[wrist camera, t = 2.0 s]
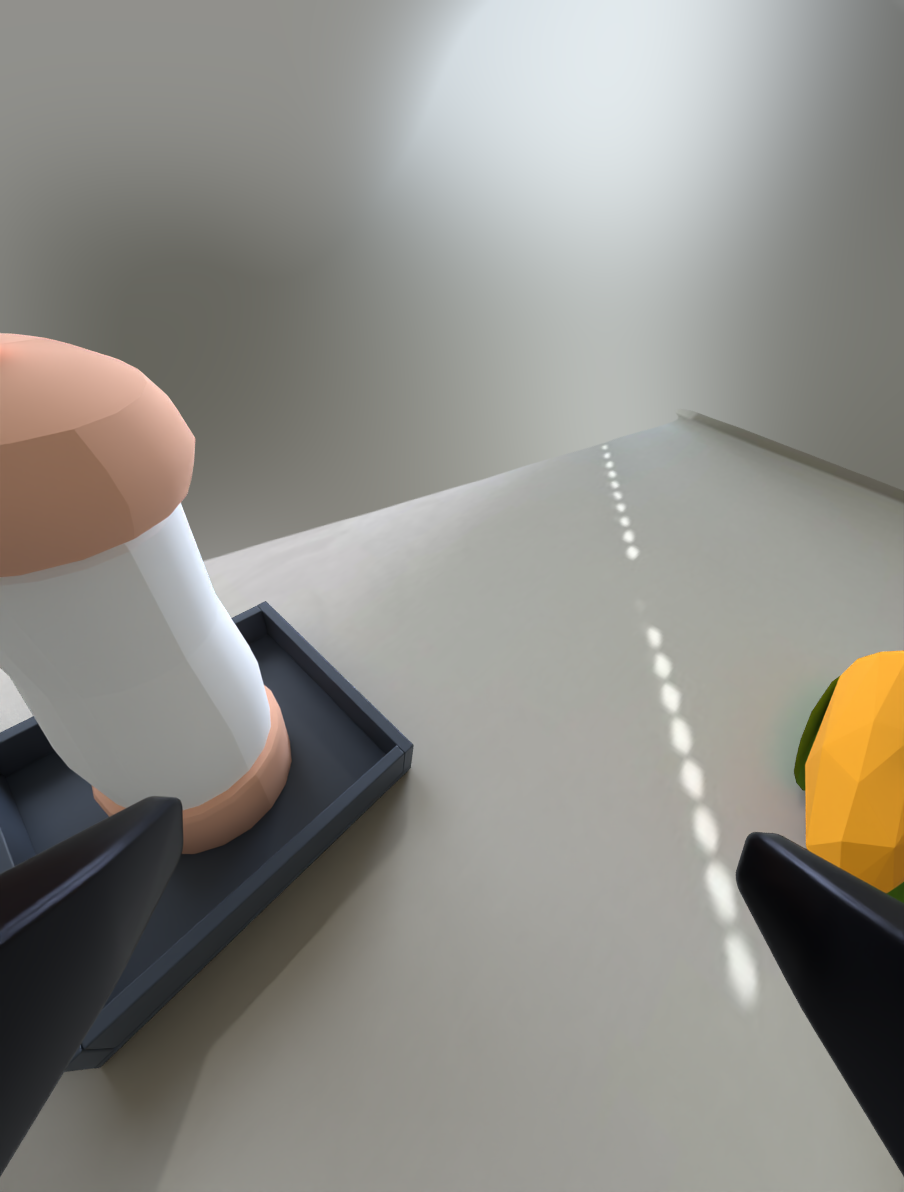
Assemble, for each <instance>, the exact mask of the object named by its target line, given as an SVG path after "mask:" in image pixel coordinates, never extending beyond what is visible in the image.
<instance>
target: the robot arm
mask: <svg viewBox="0 0 904 1192" xmlns="http://www.w3.org/2000/svg"><path fill="white" fill-rule="evenodd" d="M182 850H183V807H182V803H181V800H180V799H178V798H176V797H165V796H150V797H147V798H145V799H143V800H141V801H139V802H137V803H135V804H133V805H131V806H129V807H127V808H125V809H123V810H122V811H120V812H118V813H116V814H114V815H112V816H110V817H108V818H106V819H104V820H102V821H100V822H98V823H97V824H95V825H93V826H91V827H89V828H87V829H85V830H83V831H81V832H79V833H77V834H75V835H73V836H72V837H70V838H68V839H66V840H64V841H62V842H60V843H58V844H56V845H54V846H52V847H50V848H49V849H47V850H45V851H43V852H41V853H39V854H37V855H35V856H33V857H31V858H29V859H27V860H25V861H24V862H22V863H20V864H18V865H16V866H14V867H12V868H10V869H8V870H6V871H4V872H2V873H0V1176H1V1175H2V1173H3V1171H4V1170H5V1168H6V1167H7V1165H8V1163H9V1162H10V1160H11V1158H12V1157H13V1155H14V1153H15V1152H16V1150H17V1148H18V1147H19V1145H20V1143H21V1142H22V1140H23V1139H24V1137H25V1135H26V1134H27V1132H28V1130H29V1129H30V1127H31V1125H32V1124H33V1122H34V1120H35V1119H36V1117H37V1116H38V1114H39V1112H40V1111H41V1109H42V1107H43V1106H44V1104H45V1102H46V1101H47V1099H48V1097H49V1096H50V1094H51V1093H52V1091H53V1089H54V1088H55V1086H56V1084H57V1083H58V1081H59V1079H60V1078H61V1076H62V1074H63V1073H64V1071H65V1069H66V1068H67V1066H68V1065H69V1063H70V1061H71V1060H72V1058H73V1056H74V1055H75V1053H76V1051H77V1050H78V1048H79V1046H80V1045H81V1043H82V1042H83V1040H84V1038H85V1037H86V1035H87V1033H88V1032H89V1030H90V1028H91V1027H92V1025H93V1023H94V1022H95V1020H96V1019H97V1017H98V1015H99V1014H100V1012H101V1010H102V1008H103V1007H104V1005H105V1003H106V1002H107V1000H108V998H109V997H110V995H111V993H112V991H113V990H114V988H115V986H116V984H117V982H118V980H119V979H120V977H121V975H122V973H123V971H124V969H125V967H126V965H127V963H128V961H129V959H130V957H131V955H132V954H133V952H134V950H135V948H136V946H137V944H138V942H139V940H140V938H141V936H142V934H143V932H144V930H145V928H146V926H147V924H148V922H149V920H150V918H151V916H152V914H153V912H154V910H155V908H156V906H157V904H158V902H159V900H160V898H161V896H162V894H163V892H164V890H165V888H166V886H167V884H168V882H169V880H170V878H171V876H172V874H173V872H174V870H175V868H176V866H177V864H178V862H179V860H180V857H181V854H182ZM736 882H737V886H738V889H739V891H740V893H741V895H742V897H743V899H744V901H745V903H746V904H747V906H748V908H749V910H750V912H751V914H752V916H753V918H754V920H755V922H756V924H757V925H758V927H759V929H760V931H761V933H762V935H763V937H764V939H765V941H766V943H767V944H768V946H769V948H770V950H771V952H772V954H773V956H774V958H775V960H776V962H777V964H778V965H779V967H780V969H781V971H782V973H783V975H784V977H785V979H786V981H787V983H788V985H789V986H790V988H791V990H792V992H793V994H794V996H795V997H796V999H797V1001H798V1003H799V1005H800V1007H801V1008H802V1010H803V1012H804V1013H805V1015H806V1017H807V1018H808V1020H809V1022H810V1023H811V1025H812V1027H813V1029H814V1030H815V1032H816V1033H817V1035H818V1037H819V1038H820V1040H821V1042H822V1043H823V1045H824V1047H825V1048H826V1050H827V1051H828V1053H829V1055H830V1056H831V1058H832V1060H833V1061H834V1063H835V1065H836V1066H837V1068H838V1070H839V1071H840V1073H841V1074H842V1076H843V1078H844V1079H845V1081H846V1083H847V1084H848V1086H849V1088H850V1089H851V1091H852V1092H853V1094H854V1096H855V1097H856V1099H857V1101H858V1102H859V1104H860V1106H861V1107H862V1109H863V1110H864V1112H865V1114H866V1115H867V1117H868V1119H869V1120H870V1122H871V1124H872V1125H873V1127H874V1129H875V1130H876V1132H877V1133H878V1135H879V1137H880V1138H881V1140H882V1142H883V1143H884V1145H885V1147H886V1148H887V1150H888V1151H889V1153H890V1155H891V1156H892V1158H893V1160H894V1161H895V1163H896V1165H897V1166H898V1168H899V1169H900V1171H901V1173H902V1174H903V1176H904V903H903V902H901V901H899V900H897V899H895V898H894V897H892V896H890V895H888V894H886V893H885V892H883V891H881V890H879V889H877V888H875V887H874V886H872V885H870V884H868V883H866V882H865V881H863V880H861V879H859V878H857V877H856V876H854V875H852V874H850V873H848V872H847V871H845V870H843V869H841V868H839V867H837V866H836V865H834V864H832V863H830V862H828V861H827V860H825V859H823V858H821V857H819V856H818V855H816V854H814V853H812V852H810V851H809V850H807V849H805V848H803V847H801V846H799V845H798V844H796V843H794V842H792V841H790V840H789V839H787V838H785V837H783V836H781V835H779V834H775V833H763V832H753V833H751V834H750V835H748V837H747V838H746V841H745V844H744V847H743V850H742V854H741V857H740V860H739V863H738V867H737V870H736Z"/></svg>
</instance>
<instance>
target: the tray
mask: <svg viewBox="0 0 904 1192" xmlns="http://www.w3.org/2000/svg"><path fill="white" fill-rule="evenodd" d="M231 619H232V620H233V622H234V623H235V625H236V627H237V628H238V630H239V631H240V633H241V634H242V636H243V637H244V639H245V641H246V642H247V644H248V645H249V647H250V649H251V651H252V653H253V655H254V656H255V658H256V660H257V662H258V665H259V669H260V673H261V677H262V680H263V684H264V685H265V686H266V687H267V688H268V689H270V690H271V692H272V693H273V695H274V697H275V699H276V701H277V703H278V705H279V707H280V709H281V713H282V716H283V719H284V723H285V726H286V729H287V733H288V736H289V740H290V748H291V760H292V762H291V766H290V770H289V773H288V777H287V781H286V784H285V786H284V788H283V790H282V791H281V793H280V795H279V796H278V798H277V800H276V801H275V803H274V805H273V806H272V808H271V809H270V810H269V811H268V812H267V813H266V814H265V815H264V816H263V817H262V818H261V819H260V820H259V821H258V822H257V823H256V824H255V825H254V826H253V827H252V828H251V829H249V830H248V831H246V832H244V833H243V834H241V835H240V836H238V837H236V838H235V839H233V840H231V841H230V842H228V843H227V844H225V845H223V846H219V847H216V848H213V849H209V850H206V851H203V852H200V853H196V854H181V857H180V860H179V862H178V864H177V866H176V868H175V870H174V872H173V874H172V876H171V878H170V880H169V882H168V884H167V886H166V888H165V890H164V892H163V894H162V896H161V898H160V900H159V902H158V904H157V906H156V908H155V910H154V912H153V914H152V916H151V918H150V920H149V922H148V924H147V926H146V928H145V930H144V932H143V934H142V936H141V938H140V940H139V942H138V944H137V946H136V948H135V950H134V952H133V954H132V955H131V957H130V959H129V961H128V963H127V965H126V967H125V969H124V971H123V973H122V975H121V977H120V979H119V980H118V982H117V984H116V986H115V988H114V990H113V991H112V993H111V995H110V997H109V998H108V1000H107V1002H106V1003H105V1005H104V1007H103V1008H102V1010H101V1012H100V1014H99V1015H98V1017H97V1019H96V1020H95V1022H94V1023H93V1025H92V1027H91V1028H90V1030H89V1032H88V1033H87V1035H86V1037H85V1038H84V1040H83V1042H82V1043H81V1045H80V1046H79V1048H78V1050H77V1051H76V1053H75V1055H74V1056H73V1058H72V1060H71V1061H70V1063H69V1065H68V1066H67V1068H66V1069H65V1071H64V1072H67V1071H75V1070H83V1069H91V1068H100V1067H101V1066H102V1065H103V1064H104V1063H105V1062H106V1061H107V1060H108V1059H109V1058H110V1057H111V1056H112V1055H114V1054H115V1053H116V1052H117V1051H118V1050H119V1049H120V1048H121V1047H122V1046H123V1045H124V1044H125V1043H126V1042H127V1041H128V1040H129V1039H130V1038H131V1037H132V1036H133V1035H134V1034H135V1033H136V1032H137V1031H138V1030H139V1029H140V1028H142V1027H143V1026H144V1025H145V1024H146V1023H147V1022H148V1021H149V1020H150V1019H151V1018H152V1017H153V1016H154V1015H155V1014H156V1013H157V1012H158V1011H159V1010H160V1009H161V1008H162V1007H163V1006H164V1005H165V1004H166V1003H167V1002H168V1001H170V1000H171V999H172V998H173V997H174V996H175V995H176V994H177V993H178V992H179V991H180V990H181V989H182V988H183V987H184V986H185V985H186V984H187V983H188V982H189V981H190V980H191V979H192V978H193V977H194V976H195V975H196V974H197V973H199V972H200V971H201V970H202V969H203V968H204V967H205V966H206V965H207V964H208V963H209V962H210V961H211V960H212V959H213V958H214V957H215V956H216V955H217V954H218V953H219V952H220V951H221V950H222V949H223V948H224V947H225V946H227V945H228V944H229V943H230V942H231V941H232V940H233V939H234V938H235V937H236V936H237V935H238V934H239V933H240V932H241V931H242V930H243V929H244V928H245V927H246V926H247V925H248V924H249V923H250V922H251V921H252V920H253V919H255V918H256V917H257V916H258V915H259V914H260V913H261V912H262V911H263V910H264V909H265V908H266V907H267V906H268V905H269V904H270V903H271V902H272V901H273V900H274V899H275V898H276V897H277V896H278V895H279V894H280V893H281V892H283V891H284V890H285V889H286V888H287V887H288V886H289V885H290V884H291V883H292V882H293V881H294V880H295V879H296V878H297V877H298V876H299V875H300V874H301V873H302V872H303V871H304V870H305V869H306V868H307V867H308V866H309V865H310V864H312V863H313V862H314V861H315V860H316V859H317V858H318V857H319V856H320V855H321V854H322V853H323V852H324V851H325V850H326V849H327V848H328V847H329V846H330V845H331V844H332V843H333V842H334V841H335V840H336V839H337V838H338V837H340V836H341V835H342V834H343V833H344V832H345V831H346V830H347V829H348V828H349V827H350V826H351V825H352V824H353V823H354V822H355V821H356V820H357V819H358V818H359V817H360V816H361V815H362V814H363V813H364V812H365V811H366V810H368V809H369V808H370V807H371V806H372V805H373V804H374V803H375V802H376V801H377V800H378V799H379V798H380V797H381V796H382V795H383V794H384V793H385V792H386V791H387V790H388V789H389V788H390V787H391V786H392V785H393V784H394V783H396V782H397V781H398V780H399V779H400V778H401V777H402V776H403V775H404V774H405V773H406V772H407V771H408V770H409V769H410V768H411V761H412V753H413V744H412V743H411V742H410V741H409V740H408V739H407V738H406V737H405V736H404V735H403V734H402V733H401V732H400V731H399V730H398V729H397V728H396V727H395V726H394V725H393V724H392V723H391V722H389V721H388V720H387V719H386V718H385V717H384V716H383V715H382V714H381V713H380V712H379V711H378V710H377V709H376V708H375V707H374V706H373V705H372V704H371V703H370V702H369V701H368V700H367V699H366V698H365V697H364V696H363V695H362V694H361V693H360V692H359V691H358V690H357V689H356V688H355V687H354V686H352V685H351V684H350V683H349V682H348V681H347V680H346V679H345V678H344V677H343V676H342V675H341V674H340V673H339V672H338V671H337V670H336V669H335V668H334V667H333V666H332V665H331V664H330V663H329V662H328V661H327V660H326V659H325V658H324V657H323V656H322V655H321V654H320V653H319V652H318V651H317V650H315V649H314V648H313V647H312V646H311V645H310V644H309V643H308V642H307V641H306V640H305V639H304V638H303V637H302V636H301V635H300V634H299V633H298V632H297V631H296V630H295V629H294V628H293V627H292V626H291V625H290V624H289V623H288V622H287V621H286V620H285V619H284V618H283V617H282V616H281V615H280V614H279V613H277V612H276V611H275V610H274V609H273V608H272V607H271V606H270V605H269V604H268V603H267V602H266V601H265V602H263V603H261V604H259V605H257V606H255V607H253V608H251V609H249V610H247V611H245V612H243V613H241V614H239V615H237V616H235V617H233V618H231ZM108 817H109V816H108V815H107V813H106V812H105V811H104V810H103V809H102V808H101V806H100V805H99V804H98V803H97V802H96V800H95V799H94V796H93V790H92V785H91V784H90V783H88V782H87V781H86V780H84V779H83V778H82V777H81V776H79V775H78V774H77V773H75V772H74V771H73V770H71V769H70V768H69V767H68V766H67V765H66V763H65V762H64V761H63V760H62V759H61V757H60V756H59V755H58V754H57V753H56V751H55V750H54V749H53V748H52V746H51V744H50V743H49V741H48V739H47V738H46V736H45V734H44V733H43V731H42V729H41V728H40V726H39V724H38V723H37V721H36V719H35V718H34V716H33V717H31V718H29V719H27V720H25V721H23V722H21V723H19V724H17V725H15V726H13V727H11V728H9V729H7V730H5V731H3V732H1V733H0V873H2V872H4V871H6V870H8V869H10V868H12V867H14V866H16V865H18V864H20V863H22V862H24V861H25V860H27V859H29V858H31V857H33V856H35V855H37V854H39V853H41V852H43V851H45V850H47V849H49V848H50V847H52V846H54V845H56V844H58V843H60V842H62V841H64V840H66V839H68V838H70V837H72V836H73V835H75V834H77V833H79V832H81V831H83V830H85V829H87V828H89V827H91V826H93V825H95V824H97V823H98V822H100V821H102V820H104V819H106V818H108Z"/></svg>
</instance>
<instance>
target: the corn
mask: <svg viewBox="0 0 904 1192" xmlns="http://www.w3.org/2000/svg"><path fill="white" fill-rule="evenodd" d="M794 775H795V779H796V783H797V784H798V785H799V786H800V788H801V789H802V790H805V794H806V847H807V850H809V851H810V852H812V853H814V854H816V855H818V856H819V857H821V858H823V859H825V860H827V861H828V862H830V863H832V864H834V865H836V866H837V867H839V868H841V869H843V870H845V871H847V872H848V873H850V874H852V875H854V876H856V877H857V878H859V879H861V880H863V881H865V882H866V883H868V884H870V885H872V886H874V887H875V888H877V889H879V890H881V891H883V892H885V893H886V894H888V895H890V896H892V897H894V898H895V899H897V900H899V901H901V902H903V903H904V651H888V652H879V653H875V654H872V655H869V656H865V657H862V658H859V659H857V660H856V661H855V662H854V663H853V664H852V665H851V666H850V667H849V668H848V669H847V670H846V671H845V672H844V673H843V674H842V675H841V676H839V677H838V678H837V679H835V680H834V681H832V682H831V684H830V685H829V687H828V688H827V690H826V691H825V693H824V694H823V696H822V697H821V699H820V700H819V702H818V703H817V705H816V706H815V708H814V709H813V711H812V712H811V715H810V717H809V720H808V722H807V725H806V727H805V730H804V732H803V735H802V738H801V740H800V744H799V748H798V753H797V757H796V762H795V768H794Z"/></svg>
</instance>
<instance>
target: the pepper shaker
mask: <svg viewBox="0 0 904 1192" xmlns="http://www.w3.org/2000/svg"><path fill="white" fill-rule="evenodd" d="M194 452H195V437H194V436H193V434H192V432H191V431H190V429H189V427H188V426H187V424H186V423H185V421H184V420H183V418H182V416H181V415H180V413H179V411H178V410H177V408H176V407H175V406H174V404H173V403H172V401H171V400H170V399H169V397H168V396H167V395H166V394H165V393H164V392H163V391H162V390H161V389H159V388H158V387H157V386H156V385H155V384H154V383H153V382H152V381H151V380H150V379H148V378H147V377H146V376H145V375H144V374H143V373H142V372H141V371H140V370H138V369H137V368H135V367H133V366H131V365H129V364H127V363H124V362H123V361H120V360H118V359H116V358H113V357H110V356H106V355H103V354H100V353H97V352H93V351H91V350H87V349H84V348H81V347H78V346H74V345H71V344H68V343H64V342H60V341H56V340H52V339H48V338H43V337H35V336H27V335H18V334H2V333H0V668H1V669H2V670H3V671H4V672H5V673H6V674H8V675H9V676H10V678H11V680H12V681H13V683H14V685H15V686H16V688H17V689H18V691H19V693H20V694H21V696H22V698H23V699H24V701H25V703H26V704H27V706H28V708H29V709H30V711H31V713H32V714H33V716H34V718H35V719H36V721H37V723H38V724H39V726H40V728H41V729H42V731H43V733H44V734H45V736H46V738H47V739H48V741H49V743H50V744H51V746H52V748H53V749H54V750H55V751H56V753H57V754H58V755H59V756H60V757H61V759H62V760H63V761H64V762H65V763H66V765H67V766H68V767H69V768H70V769H71V770H73V771H74V772H75V773H77V774H78V775H79V776H81V777H82V778H83V779H84V780H86V781H87V782H88V783H90V784H91V785H92V790H93V796H94V799H95V800H96V802H97V803H98V804H99V805H100V806H101V808H102V809H103V810H104V811H105V812H106V813H107V815H108V816H109V817H110V816H112V815H114V814H116V813H118V812H120V811H122V810H123V809H125V808H127V807H129V806H131V805H133V804H135V803H137V802H139V801H141V800H143V799H145V798H147V797H150V796H165V797H176V798H178V799H180V800H181V803H182V807H183V850H182V854H196V853H200V852H203V851H206V850H209V849H213V848H216V847H219V846H223V845H225V844H227V843H228V842H230V841H231V840H233V839H235V838H236V837H238V836H240V835H241V834H243V833H244V832H246V831H248V830H249V829H251V828H252V827H253V826H254V825H255V824H256V823H257V822H258V821H259V820H260V819H261V818H262V817H263V816H264V815H265V814H266V813H267V812H268V811H269V810H270V809H271V808H272V806H273V805H274V803H275V801H276V800H277V798H278V796H279V795H280V793H281V791H282V790H283V788H284V786H285V784H286V781H287V777H288V773H289V770H290V766H291V762H292V760H291V748H290V740H289V736H288V733H287V729H286V726H285V723H284V719H283V716H282V713H281V709H280V707H279V705H278V703H277V701H276V699H275V697H274V695H273V693H272V692H271V690H270V689H268V688H267V687H266V686H265V685H264V684H263V680H262V677H261V673H260V669H259V665H258V662H257V660H256V658H255V656H254V655H253V653H252V651H251V649H250V647H249V645H248V644H247V642H246V641H245V639H244V637H243V636H242V634H241V633H240V631H239V630H238V628H237V627H236V625H235V623H234V622H233V620H232V619H231V617H230V616H229V614H228V613H227V611H226V610H225V608H224V606H223V605H222V603H221V602H220V600H219V599H218V597H217V596H216V594H215V592H214V589H213V587H212V584H211V581H210V579H209V576H208V574H207V571H206V568H205V566H204V563H203V560H202V558H201V555H200V553H199V550H198V547H197V545H196V542H195V540H194V537H193V534H192V532H191V529H190V527H189V524H188V521H187V519H186V516H185V513H184V511H183V508H182V506H181V501H182V500H183V499H184V498H185V497H186V495H187V493H188V489H189V486H190V482H191V477H192V470H193V464H194Z"/></svg>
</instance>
